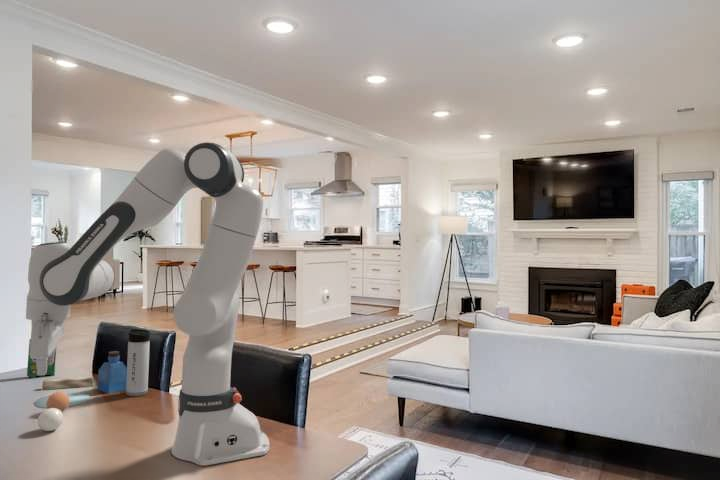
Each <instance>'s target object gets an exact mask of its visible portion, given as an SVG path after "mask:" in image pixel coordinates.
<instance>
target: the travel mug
mask: <svg viewBox="0 0 720 480" xmlns="http://www.w3.org/2000/svg"><path fill="white" fill-rule="evenodd" d="M150 337H151V332H150V331H149V330H146V329H138V328H131V329H130V330H129V331H128V341H127V342H128V343H127V360H126V361H127V363H126V364H127V365H126V368H127V381H126V389H125V395H126V396H129V397H140V396H141V397H142V396H145V395H147V393H148V392H149V371H150V370H149V368H150V366H149V365H150V346H151V345H150V344H151V343H150V341H151V339H150Z"/></svg>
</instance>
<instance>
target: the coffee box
mask: <svg viewBox="0 0 720 480" xmlns="http://www.w3.org/2000/svg"><path fill="white" fill-rule="evenodd" d="M30 342H31V338H30V339H29V344H28V355H27V356H28V357H27V368H26V370H27V371H26V377H27V376H28V377H35V376H43V377H46V376H45V375H53V376H55V371H56V370H55V369H56V360H57V359H56V357H57V349H56V350H55V354H54V362H53V364H52V365H47V373H46V374H45V375H37V365H36V359H31V358H30ZM35 378H36V377H35Z"/></svg>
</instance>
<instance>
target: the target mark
mask: <svg viewBox="0 0 720 480" xmlns="http://www.w3.org/2000/svg"><path fill="white" fill-rule="evenodd" d="M64 393H65V394H67V395H68V397H69V405H68V407H73V406H78V405H81V404H83V403H86V402H88V401H89V399H90V395H89V394H87V393H83V392H64ZM51 395H52V394H48V395H46V396H43V397H40V398H38V399H37V400H35V401H34V405H35V406H36V407H38V408H43V409H48V408H47V406H46V403H47V400H48V398H49V397H50V396H51ZM68 407H67V408H68Z"/></svg>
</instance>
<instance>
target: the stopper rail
mask: <svg viewBox="0 0 720 480" xmlns="http://www.w3.org/2000/svg"><path fill="white" fill-rule="evenodd" d="M93 385H94V377H91V376H90V377H78V378H77V377H76V378H62V379H61V378H59V379H44V380H42V387H41V389H45V390H57V389H59V390H60V389H69V388H81V387H82V388H84V387H85V388H86V387H93Z"/></svg>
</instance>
